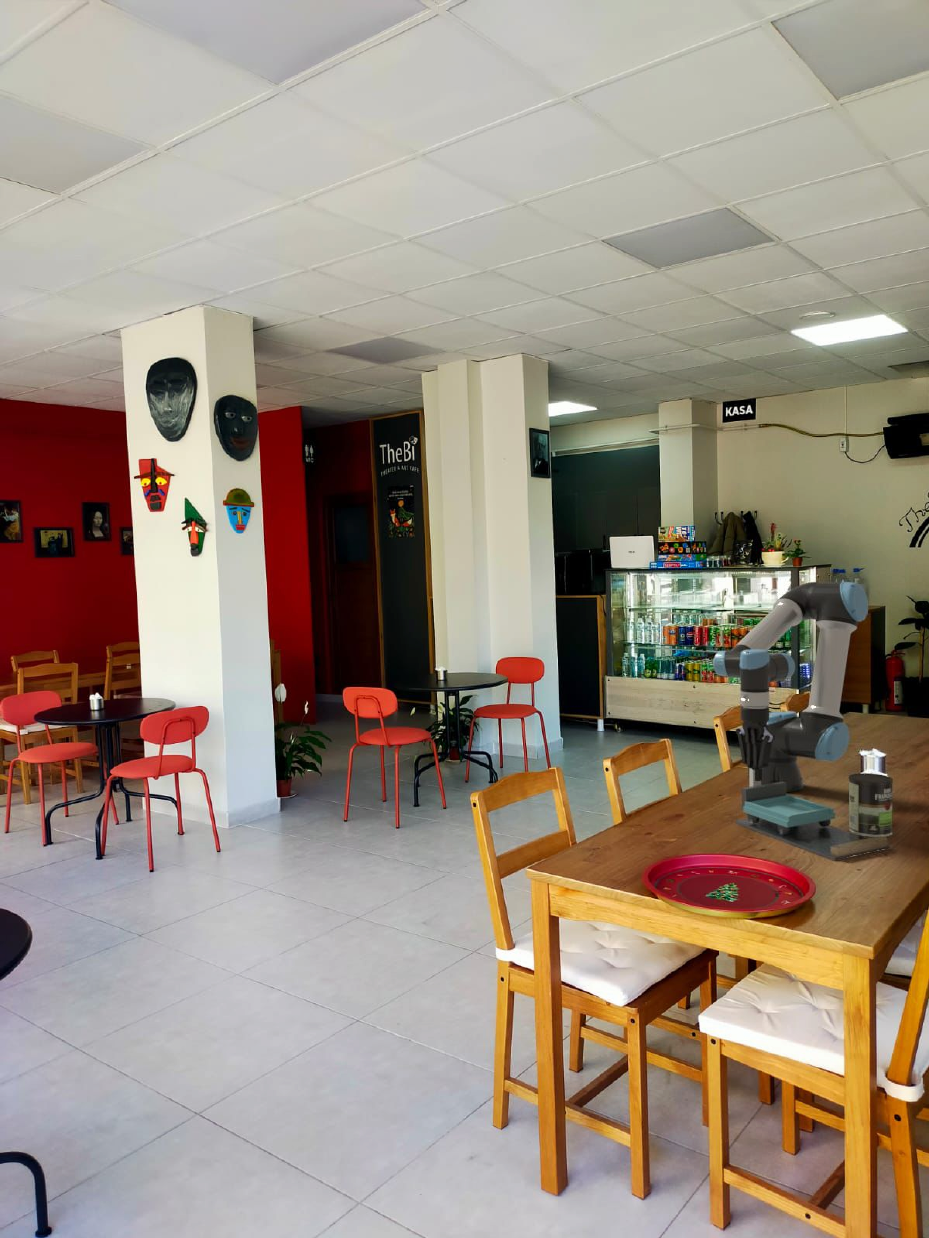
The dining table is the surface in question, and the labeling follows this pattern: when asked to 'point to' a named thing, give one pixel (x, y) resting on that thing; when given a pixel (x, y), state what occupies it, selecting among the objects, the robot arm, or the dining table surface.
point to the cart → (782, 807)
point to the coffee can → (870, 804)
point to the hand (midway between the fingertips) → (755, 791)
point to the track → (820, 839)
